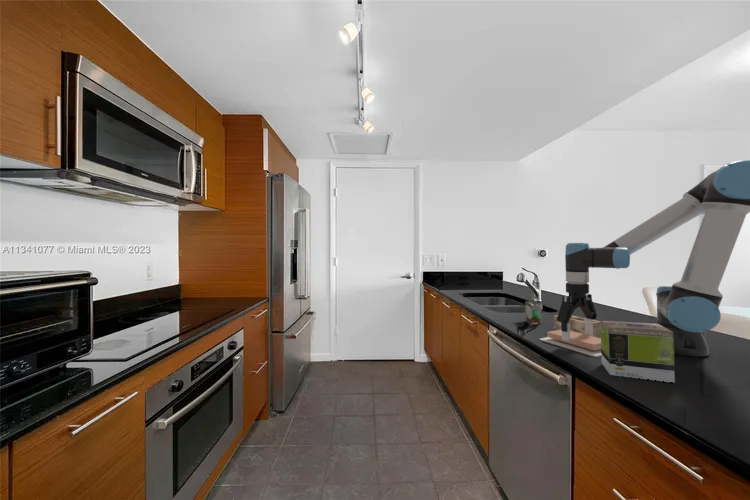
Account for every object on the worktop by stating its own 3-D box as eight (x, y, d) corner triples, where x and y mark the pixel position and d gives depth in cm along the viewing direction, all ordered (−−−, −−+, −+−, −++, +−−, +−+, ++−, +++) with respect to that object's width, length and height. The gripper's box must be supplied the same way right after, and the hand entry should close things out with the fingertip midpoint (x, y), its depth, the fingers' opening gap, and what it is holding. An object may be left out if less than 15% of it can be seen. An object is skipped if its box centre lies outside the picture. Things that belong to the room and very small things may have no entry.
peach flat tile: (610, 348, 113) (610, 340, 113) (593, 353, 109) (593, 344, 109) (563, 336, 129) (563, 329, 129) (547, 339, 125) (547, 331, 125)
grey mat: (620, 351, 112) (620, 349, 112) (596, 357, 106) (596, 355, 106) (562, 335, 132) (562, 334, 132) (539, 339, 126) (539, 338, 126)
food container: (546, 327, 145) (546, 306, 145) (532, 326, 147) (532, 305, 147) (538, 320, 158) (538, 301, 157) (525, 320, 159) (525, 301, 159)
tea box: (660, 371, 94) (660, 323, 94) (675, 384, 85) (675, 331, 85) (600, 363, 100) (600, 318, 100) (608, 375, 91) (608, 326, 91)
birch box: (601, 338, 127) (601, 321, 126) (591, 341, 124) (591, 323, 124) (564, 329, 141) (564, 314, 141) (553, 331, 138) (553, 315, 138)
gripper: (587, 279, 127) (588, 331, 127) (545, 283, 117) (546, 339, 117) (607, 281, 120) (607, 335, 120) (564, 285, 110) (565, 344, 110)
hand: (577, 337), depth 119 cm, fingers open, 13 cm apart
